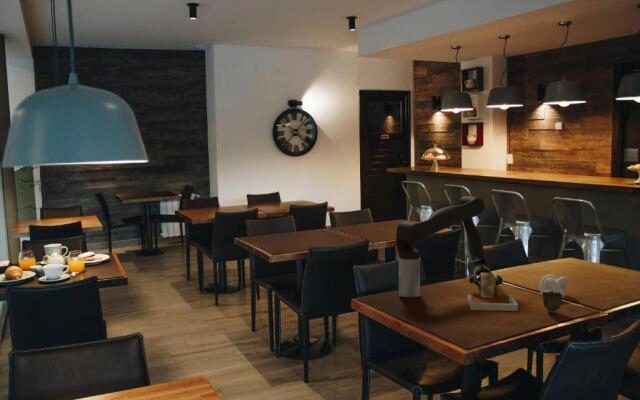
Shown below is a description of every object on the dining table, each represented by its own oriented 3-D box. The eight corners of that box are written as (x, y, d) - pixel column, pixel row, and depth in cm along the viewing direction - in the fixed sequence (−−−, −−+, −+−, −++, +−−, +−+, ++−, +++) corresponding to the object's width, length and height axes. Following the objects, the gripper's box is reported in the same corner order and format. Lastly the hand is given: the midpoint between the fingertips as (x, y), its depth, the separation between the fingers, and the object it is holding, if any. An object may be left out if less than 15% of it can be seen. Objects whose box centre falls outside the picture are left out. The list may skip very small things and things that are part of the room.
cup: (563, 316, 225) (564, 296, 224) (543, 315, 226) (544, 295, 225) (559, 310, 232) (560, 291, 231) (540, 309, 233) (541, 290, 232)
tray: (470, 309, 236) (470, 303, 235) (467, 300, 248) (467, 295, 248) (517, 310, 233) (517, 304, 233) (511, 301, 246) (512, 295, 245)
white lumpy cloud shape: (534, 296, 252) (534, 276, 251) (544, 291, 261) (545, 271, 260) (560, 301, 244) (560, 280, 243) (570, 295, 253) (571, 275, 252)
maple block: (482, 297, 253) (482, 275, 252) (480, 294, 258) (480, 272, 257) (493, 297, 252) (494, 275, 251) (492, 294, 257) (492, 272, 256)
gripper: (467, 266, 270) (470, 274, 254) (498, 266, 267) (504, 275, 252) (467, 282, 270) (470, 291, 254) (498, 282, 268) (504, 292, 252)
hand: (487, 283), depth 253 cm, fingers open, 8 cm apart
